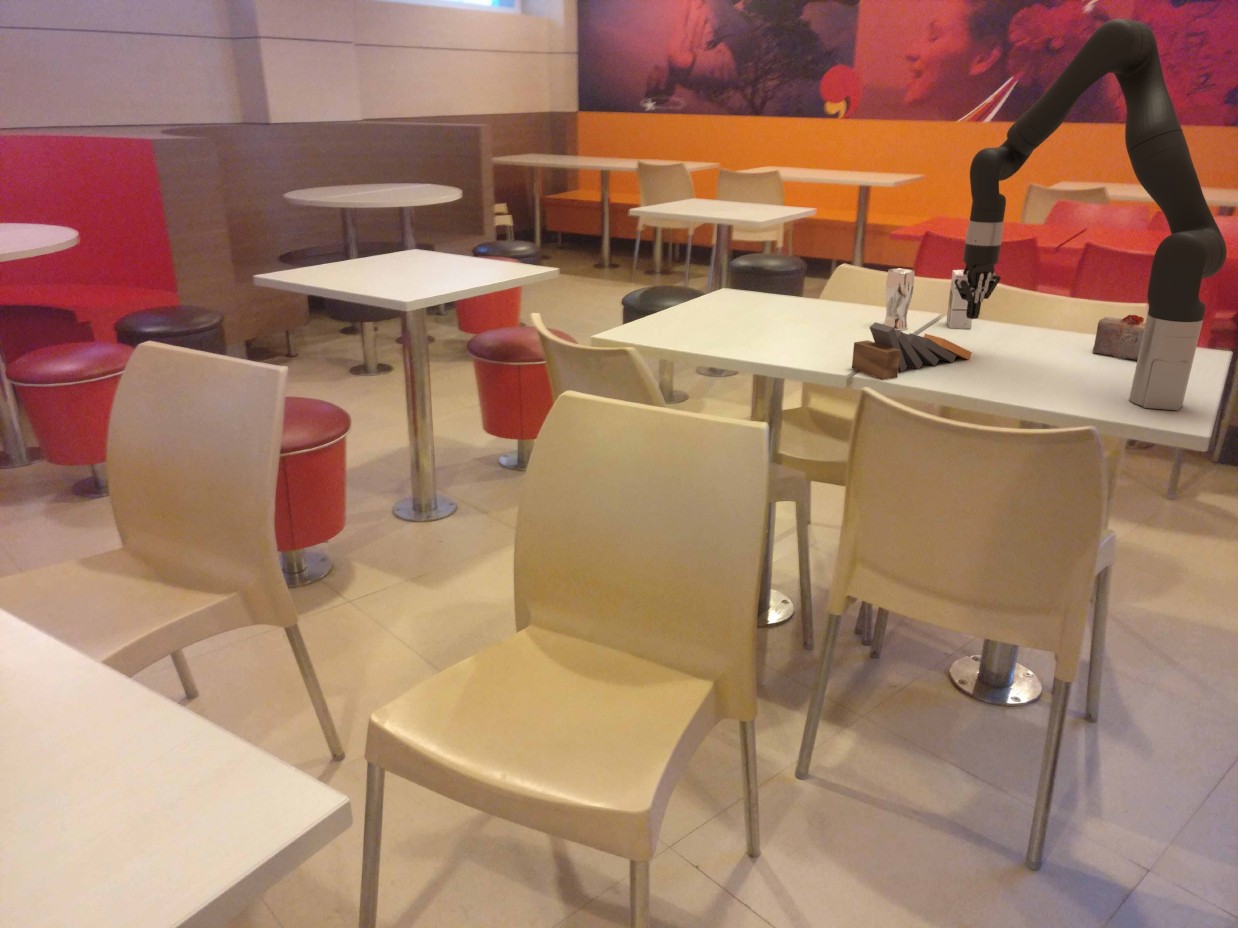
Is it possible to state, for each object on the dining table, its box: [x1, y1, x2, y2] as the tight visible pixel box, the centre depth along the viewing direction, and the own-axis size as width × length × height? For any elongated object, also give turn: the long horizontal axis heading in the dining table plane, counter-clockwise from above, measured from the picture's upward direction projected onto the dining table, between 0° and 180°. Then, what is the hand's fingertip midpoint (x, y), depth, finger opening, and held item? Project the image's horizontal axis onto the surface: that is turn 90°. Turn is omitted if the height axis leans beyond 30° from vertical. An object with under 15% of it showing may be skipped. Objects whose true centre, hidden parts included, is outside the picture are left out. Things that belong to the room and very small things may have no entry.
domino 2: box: [895, 330, 924, 370], centre depth 199 cm, size 2×6×11 cm
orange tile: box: [923, 333, 973, 360], centre depth 207 cm, size 2×6×11 cm
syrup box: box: [945, 269, 973, 330], centre depth 235 cm, size 6×6×14 cm
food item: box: [1092, 313, 1146, 361], centre depth 208 cm, size 14×8×10 cm, turn 48°
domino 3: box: [903, 332, 940, 367], centre depth 202 cm, size 2×6×11 cm
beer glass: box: [883, 268, 915, 331], centre depth 234 cm, size 7×7×15 cm
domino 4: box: [908, 333, 957, 364], centre depth 204 cm, size 2×6×11 cm
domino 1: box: [869, 322, 908, 373], centre depth 197 cm, size 2×6×11 cm, turn 28°
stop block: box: [851, 339, 901, 380], centre depth 197 cm, size 4×10×6 cm, turn 28°
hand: (972, 318), depth 207 cm, fingers closed
